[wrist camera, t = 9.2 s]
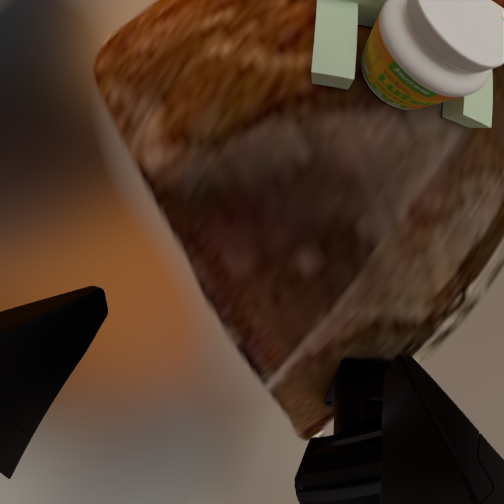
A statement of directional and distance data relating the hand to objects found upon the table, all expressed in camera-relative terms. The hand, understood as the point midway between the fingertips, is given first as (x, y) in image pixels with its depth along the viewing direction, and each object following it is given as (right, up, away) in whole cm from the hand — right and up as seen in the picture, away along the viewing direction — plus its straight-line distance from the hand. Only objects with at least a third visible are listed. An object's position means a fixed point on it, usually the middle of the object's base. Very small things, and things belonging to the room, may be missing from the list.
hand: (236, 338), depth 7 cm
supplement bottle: (+10, +14, +6) cm, 18 cm away
